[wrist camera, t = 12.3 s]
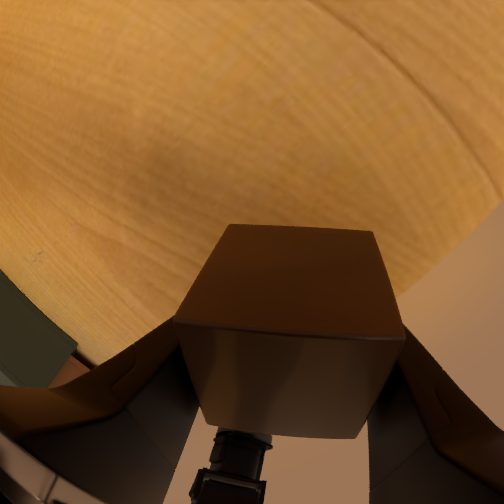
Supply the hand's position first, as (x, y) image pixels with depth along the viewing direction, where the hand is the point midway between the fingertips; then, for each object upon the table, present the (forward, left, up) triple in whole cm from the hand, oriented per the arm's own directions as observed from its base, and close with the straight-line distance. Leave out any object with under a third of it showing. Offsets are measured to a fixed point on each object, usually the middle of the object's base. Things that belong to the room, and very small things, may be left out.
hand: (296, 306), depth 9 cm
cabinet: (+15, +33, -8) cm, 37 cm away
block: (0, 0, -1) cm, 1 cm away
